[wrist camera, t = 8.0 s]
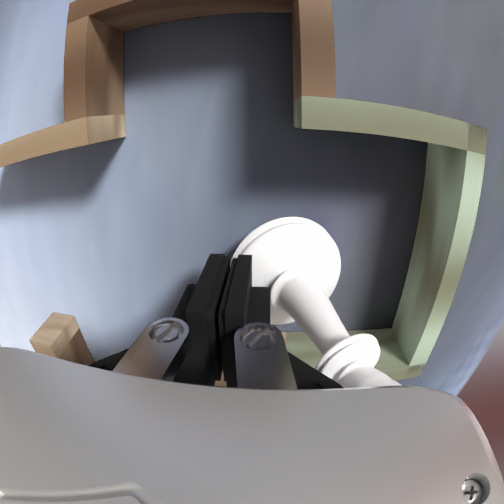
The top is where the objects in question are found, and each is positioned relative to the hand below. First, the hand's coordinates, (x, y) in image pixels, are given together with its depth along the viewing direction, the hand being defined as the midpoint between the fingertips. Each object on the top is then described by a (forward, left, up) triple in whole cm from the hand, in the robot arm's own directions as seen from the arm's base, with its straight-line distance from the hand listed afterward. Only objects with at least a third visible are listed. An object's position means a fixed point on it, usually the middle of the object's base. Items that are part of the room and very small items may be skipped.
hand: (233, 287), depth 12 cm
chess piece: (0, +2, -1) cm, 2 cm away
